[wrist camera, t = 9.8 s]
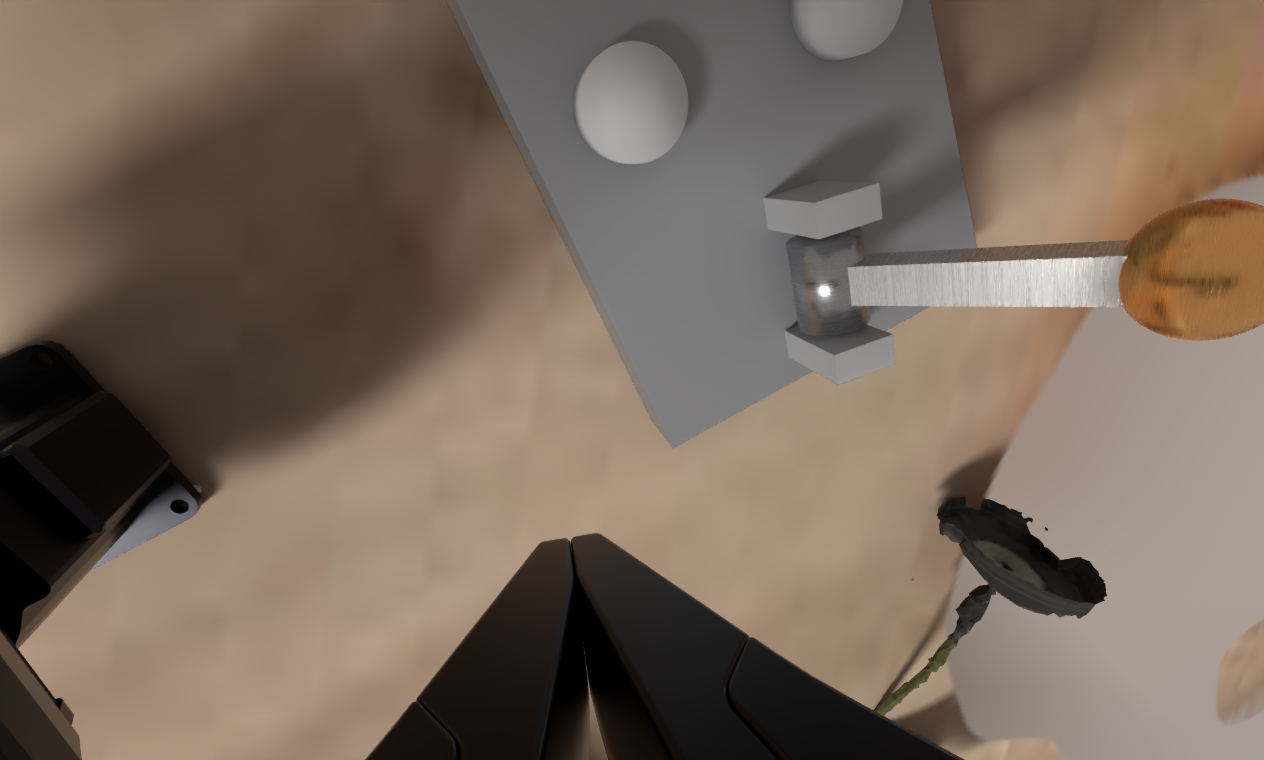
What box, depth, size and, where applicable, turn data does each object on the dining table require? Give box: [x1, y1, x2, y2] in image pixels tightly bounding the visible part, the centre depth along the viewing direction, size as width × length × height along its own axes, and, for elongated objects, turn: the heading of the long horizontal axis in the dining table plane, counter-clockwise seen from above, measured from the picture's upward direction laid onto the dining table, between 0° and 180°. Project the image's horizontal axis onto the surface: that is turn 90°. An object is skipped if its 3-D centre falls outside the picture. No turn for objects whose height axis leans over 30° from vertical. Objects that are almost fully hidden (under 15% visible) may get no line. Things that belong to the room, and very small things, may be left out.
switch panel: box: [446, 0, 977, 448], centre depth 17 cm, size 13×21×6 cm, turn 24°
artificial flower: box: [874, 497, 1107, 716], centre depth 30 cm, size 9×22×10 cm, turn 166°
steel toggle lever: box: [786, 199, 1264, 341], centre depth 16 cm, size 3×3×11 cm
